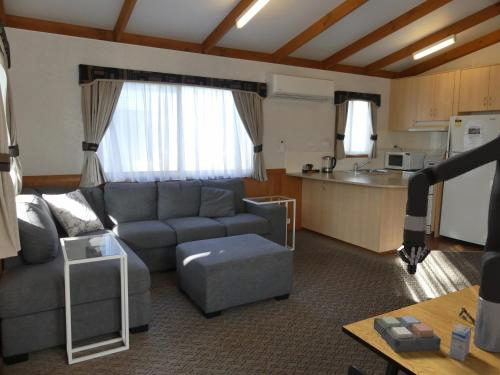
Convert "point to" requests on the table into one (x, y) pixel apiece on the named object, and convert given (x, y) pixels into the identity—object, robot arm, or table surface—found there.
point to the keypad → (406, 339)
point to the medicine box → (460, 342)
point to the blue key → (409, 320)
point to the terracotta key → (422, 330)
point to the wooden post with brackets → (467, 315)
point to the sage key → (390, 322)
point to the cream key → (401, 332)
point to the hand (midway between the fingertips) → (411, 273)
